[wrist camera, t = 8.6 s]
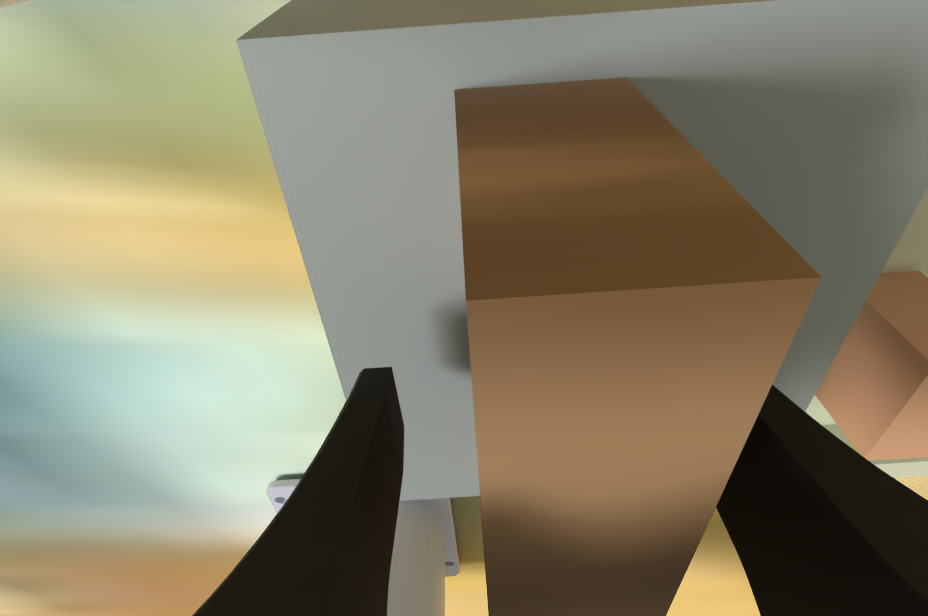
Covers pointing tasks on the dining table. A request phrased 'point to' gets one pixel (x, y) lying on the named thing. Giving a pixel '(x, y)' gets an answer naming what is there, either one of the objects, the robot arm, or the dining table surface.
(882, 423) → the tile
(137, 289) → the dining table surface
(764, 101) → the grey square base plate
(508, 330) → the long brown wooden post
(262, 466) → the dining table surface
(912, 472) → the tray
